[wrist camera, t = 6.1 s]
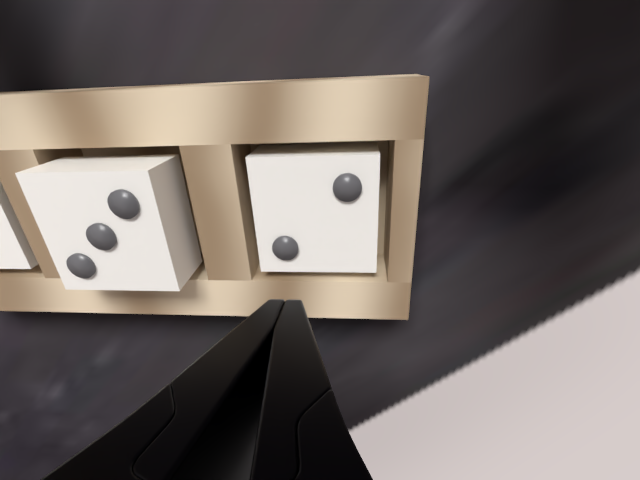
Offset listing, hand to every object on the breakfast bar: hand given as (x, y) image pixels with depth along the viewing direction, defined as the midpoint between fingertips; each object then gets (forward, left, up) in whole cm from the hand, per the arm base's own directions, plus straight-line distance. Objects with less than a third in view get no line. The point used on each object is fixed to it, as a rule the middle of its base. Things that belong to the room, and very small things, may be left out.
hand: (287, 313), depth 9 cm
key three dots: (+8, 0, -7) cm, 10 cm away
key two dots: (0, 0, -8) cm, 8 cm away
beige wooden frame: (+8, 0, -9) cm, 12 cm away
